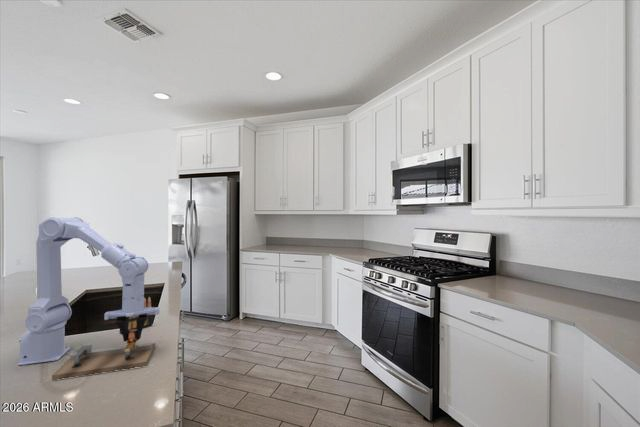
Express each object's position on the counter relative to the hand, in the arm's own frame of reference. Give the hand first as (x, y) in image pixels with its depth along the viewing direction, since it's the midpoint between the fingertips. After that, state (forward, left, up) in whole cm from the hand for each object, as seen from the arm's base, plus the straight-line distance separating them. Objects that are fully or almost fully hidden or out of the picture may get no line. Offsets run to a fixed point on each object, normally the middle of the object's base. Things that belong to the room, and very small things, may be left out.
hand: (132, 339), depth 89 cm
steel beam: (-5, +1, -4) cm, 7 cm away
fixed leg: (-12, -2, -4) cm, 13 cm away
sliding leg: (0, -2, -4) cm, 4 cm away
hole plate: (-5, -2, -5) cm, 8 cm away
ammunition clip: (-4, +24, -6) cm, 25 cm away
